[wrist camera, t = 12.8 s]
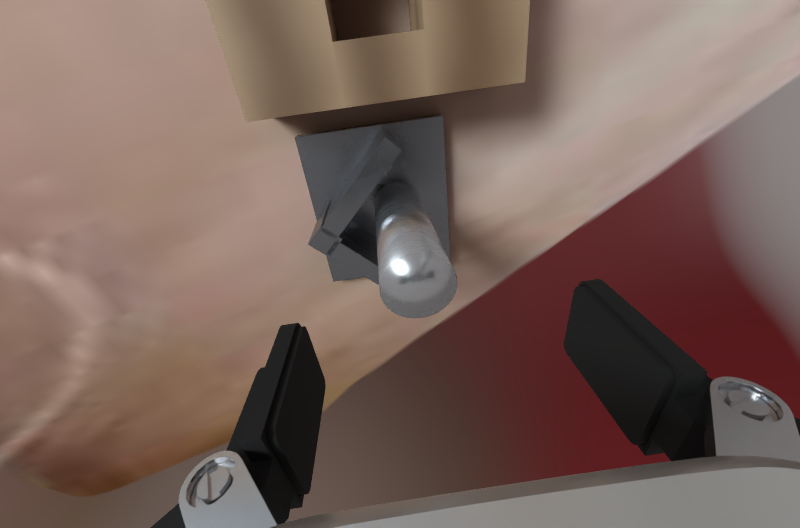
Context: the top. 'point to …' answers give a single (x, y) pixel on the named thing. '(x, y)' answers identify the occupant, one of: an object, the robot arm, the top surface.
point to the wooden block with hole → (365, 53)
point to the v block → (370, 186)
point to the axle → (410, 255)
